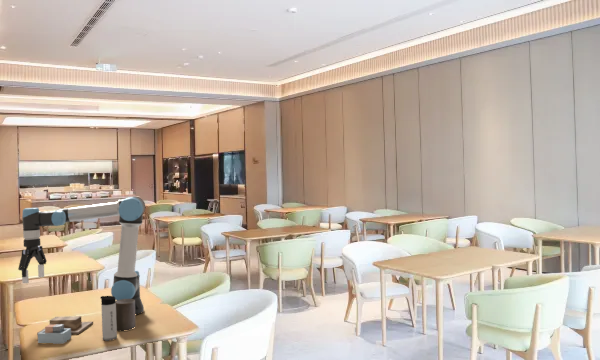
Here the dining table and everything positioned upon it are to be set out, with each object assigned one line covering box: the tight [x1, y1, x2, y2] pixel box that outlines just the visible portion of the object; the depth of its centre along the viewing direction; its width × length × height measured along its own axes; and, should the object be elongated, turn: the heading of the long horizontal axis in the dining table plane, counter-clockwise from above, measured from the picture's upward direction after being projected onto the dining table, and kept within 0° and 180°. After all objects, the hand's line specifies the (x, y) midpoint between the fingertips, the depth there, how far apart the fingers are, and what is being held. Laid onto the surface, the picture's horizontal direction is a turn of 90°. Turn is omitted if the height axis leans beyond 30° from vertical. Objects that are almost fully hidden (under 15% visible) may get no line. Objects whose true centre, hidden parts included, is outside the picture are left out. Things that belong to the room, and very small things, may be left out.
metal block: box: [53, 324, 64, 333], centre depth 228 cm, size 4×4×4 cm
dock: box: [36, 315, 94, 336], centre depth 245 cm, size 20×16×6 cm
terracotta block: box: [44, 324, 56, 333], centre depth 228 cm, size 4×4×4 cm
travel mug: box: [100, 295, 118, 342], centre depth 229 cm, size 6×7×20 cm
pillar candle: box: [115, 299, 136, 332], centre depth 244 cm, size 10×10×15 cm
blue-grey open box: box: [37, 328, 72, 345], centre depth 228 cm, size 12×7×5 cm, turn 87°
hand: (33, 280), depth 249 cm, fingers open, 13 cm apart
